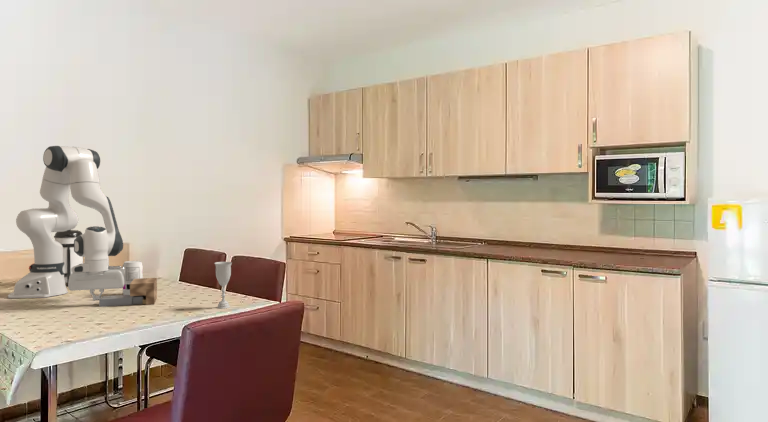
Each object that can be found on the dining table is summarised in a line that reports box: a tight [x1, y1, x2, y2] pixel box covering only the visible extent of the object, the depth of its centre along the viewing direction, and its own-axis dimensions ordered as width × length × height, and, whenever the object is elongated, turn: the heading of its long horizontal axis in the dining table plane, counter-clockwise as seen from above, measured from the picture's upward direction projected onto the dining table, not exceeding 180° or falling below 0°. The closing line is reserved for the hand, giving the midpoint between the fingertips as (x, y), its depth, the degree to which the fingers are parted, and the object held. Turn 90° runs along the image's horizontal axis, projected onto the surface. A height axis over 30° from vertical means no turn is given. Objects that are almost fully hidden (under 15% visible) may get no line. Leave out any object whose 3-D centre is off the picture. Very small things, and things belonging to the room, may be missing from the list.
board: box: [98, 294, 144, 308], centre depth 219 cm, size 16×7×3 cm, turn 108°
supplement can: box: [122, 260, 144, 295], centre depth 239 cm, size 8×8×15 cm
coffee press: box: [53, 229, 84, 284], centre depth 263 cm, size 17×16×30 cm
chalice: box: [214, 261, 233, 309], centre depth 213 cm, size 7×7×18 cm
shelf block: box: [130, 277, 158, 306], centre depth 223 cm, size 9×14×9 cm, turn 19°
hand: (97, 300), depth 216 cm, fingers closed
